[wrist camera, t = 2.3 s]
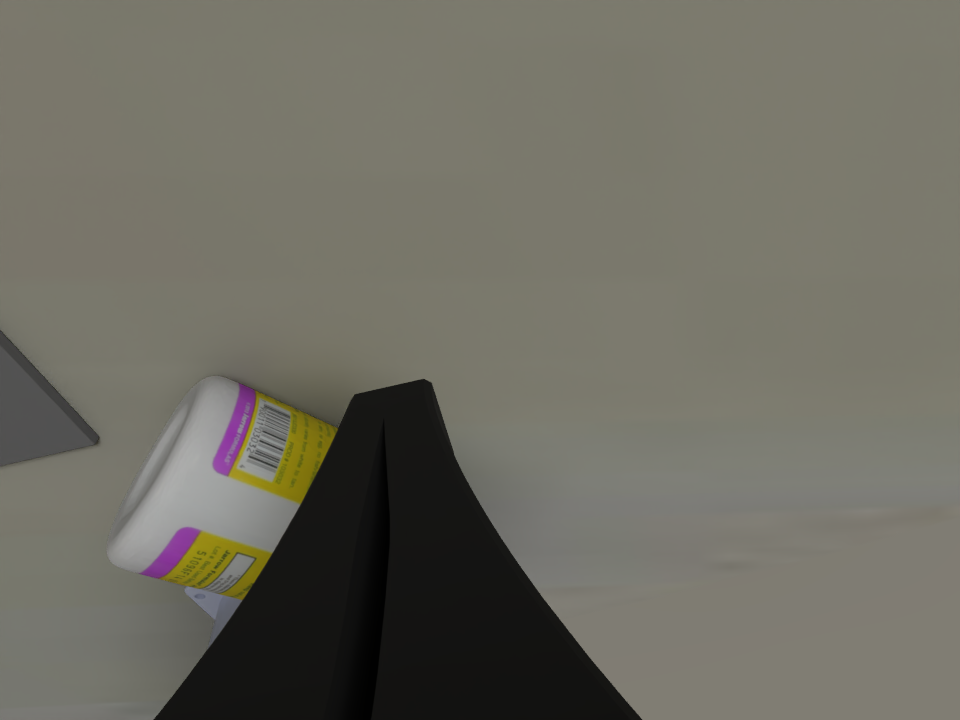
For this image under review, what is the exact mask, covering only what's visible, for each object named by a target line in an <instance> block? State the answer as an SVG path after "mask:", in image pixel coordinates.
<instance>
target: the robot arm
mask: <svg viewBox="0 0 960 720" xmlns="http://www.w3.org/2000/svg"><path fill="white" fill-rule="evenodd" d="M185 593H186V594H187V595H188V596H189V597H190V598H192V599H193V600H194V601H195V602H196V603H197V604H198V605H199V606H200V607H201V608H202V609H203V610H204V611H205V612H207V613H208V614H209V615H210V616H211V617H212V618H213V619H214V620H215V622H214V626H213V630H212V634H211V637H210V641H209V645H208V649H207V651H206V652H205V654H204V655H203V656H202V658H201V659H200V660H199V662H198V663H197V665H196V666H195V667H194V669H193V670H192V671H191V673H190V674H189V675H188V677H187V678H186V679H185V681H184V682H183V683H182V684H181V686H180V687H179V688H178V690H177V691H176V692H175V694H174V695H173V696H172V697H171V699H170V700H169V701H168V702H167V704H166V705H165V706H164V708H163V709H162V710H161V711H160V713H159V714H158V715H157V716H156V717H155V719H154V720H642V719H641V718H640V716H639V715H638V714H637V713H636V712H635V711H634V710H633V709H632V707H631V706H630V705H629V704H628V703H627V702H626V701H625V699H624V698H623V697H622V696H621V695H620V693H619V692H618V691H617V690H616V689H615V687H614V686H613V685H612V684H611V683H610V681H609V680H608V679H607V678H606V677H605V676H604V674H603V673H602V672H601V671H600V670H599V669H598V667H597V666H596V665H595V664H594V662H593V661H592V660H591V659H590V658H589V656H588V655H587V654H586V653H585V651H584V650H583V649H582V647H581V646H580V645H579V644H578V642H577V641H576V640H575V638H574V637H573V636H572V635H571V633H570V632H569V631H568V630H567V628H566V627H565V626H564V624H563V623H562V622H561V621H560V619H559V618H558V617H557V615H556V614H555V613H554V612H553V610H552V609H551V608H550V606H549V605H548V604H547V603H546V601H545V600H544V599H543V597H542V596H541V595H540V593H539V592H538V591H537V589H536V588H535V586H534V585H533V584H532V582H531V581H530V579H529V578H528V577H527V575H526V574H525V572H524V571H523V570H522V568H521V567H520V565H519V564H518V563H517V561H516V560H515V558H514V557H513V555H512V554H511V552H510V551H509V549H508V548H507V546H506V545H505V543H504V542H503V540H502V539H501V537H500V536H499V534H498V533H497V531H496V529H495V528H494V526H493V525H492V523H491V521H490V520H489V518H488V517H487V515H486V513H485V512H484V510H483V508H482V507H481V505H480V503H479V501H478V500H477V498H476V496H475V495H474V493H473V491H472V489H471V488H470V486H469V484H468V482H467V480H466V478H465V476H464V475H463V473H462V471H461V469H460V467H459V464H458V462H457V460H456V458H455V456H454V452H453V449H452V446H451V442H450V439H449V436H448V433H447V430H446V427H445V424H444V420H443V417H442V414H441V411H440V408H439V405H438V401H437V398H436V395H435V392H434V389H433V386H432V383H431V382H429V381H427V380H425V379H421V380H417V381H412V382H408V383H403V384H399V385H394V386H390V387H385V388H381V389H377V390H372V391H368V392H363V393H359V394H355V395H354V397H353V398H352V400H351V401H350V403H349V406H348V408H347V410H346V412H345V415H344V417H343V419H342V421H341V424H340V426H339V428H338V430H337V432H336V434H335V437H334V439H333V441H332V443H331V445H330V447H329V449H328V451H327V453H326V456H325V458H324V460H323V462H322V464H321V466H320V468H319V470H318V472H317V473H316V475H315V477H314V479H313V481H312V483H311V485H310V487H309V489H308V491H307V493H306V495H305V497H304V499H303V501H302V503H301V504H300V506H299V508H298V510H297V512H296V513H295V515H294V517H293V519H292V520H291V522H290V524H289V525H288V527H287V529H286V531H285V532H284V534H283V536H282V538H281V539H280V541H279V543H278V545H277V546H276V548H275V550H274V551H273V553H272V555H271V556H270V558H269V560H268V561H267V563H266V565H265V566H264V568H263V569H262V571H261V572H260V574H259V576H258V577H257V579H256V580H255V582H254V583H253V585H252V587H251V588H250V590H249V591H248V593H247V594H246V596H245V597H244V599H243V600H240V599H236V598H232V597H228V596H224V595H220V594H216V593H213V592H209V591H204V590H200V589H196V588H193V587H189V586H186V587H185Z"/></svg>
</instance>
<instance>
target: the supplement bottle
mask: <svg viewBox="0 0 960 720" xmlns="http://www.w3.org/2000/svg"><path fill="white" fill-rule="evenodd" d="M337 430H338V428H336V427H334V426H332V425H329V424H328V423H325V422H323V421H321V420H319V419H316V418H314V417H312V416H310V415H308V414H306V413H304V412H301V411H299V410H297V409H295V408H293V407H291V406H289V405H286V404H284V403H282V402H280V401H277V400H275V399H273V398H271V397H269V396H266V395H264V394H262V393H260V392H258V391H255V390H253V389H251V388H249V387H247V386H244V385H242V384H240V383H237V382H235V381H232V380H230V379H228V378H225V377H221V376H210V377H207V378H204V379H202V380H201V381H199V382H198V383H197V384H196V385H194V386H193V387H192V388H191V389H190V391H189V392H188V393H187V394H186V396H185V397H184V398H183V399H182V401H181V402H180V404H179V405H178V406H177V408H176V409H175V411H174V412H173V414H172V416H171V417H170V419H169V420H168V422H167V424H166V425H165V427H164V429H163V430H162V432H161V434H160V435H159V437H158V439H157V440H156V442H155V444H154V445H153V447H152V449H151V451H150V452H149V454H148V456H147V457H146V459H145V461H144V463H143V464H142V466H141V468H140V469H139V471H138V473H137V475H136V476H135V478H134V480H133V482H132V484H131V486H130V488H129V490H128V492H127V494H126V496H125V498H124V500H123V501H122V503H121V505H120V508H119V510H118V512H117V514H116V517H115V519H114V522H113V524H112V527H111V530H110V534H109V537H108V541H107V555H108V558H109V560H110V561H111V562H112V563H113V564H114V565H116V566H117V567H119V568H122V569H125V570H128V571H131V572H135V573H139V574H142V575H146V576H150V577H154V578H158V579H161V580H165V581H169V582H173V583H177V584H181V585H185V586H189V587H193V588H196V589H200V590H204V591H209V592H213V593H216V594H220V595H224V596H228V597H232V598H236V599H240V600H243V599H244V597H245V596H246V594H247V593H248V591H249V590H250V588H251V587H252V585H253V583H254V582H255V580H256V579H257V577H258V576H259V574H260V572H261V571H262V569H263V568H264V566H265V565H266V563H267V561H268V560H269V558H270V556H271V555H272V553H273V551H274V550H275V548H276V546H277V545H278V543H279V541H280V539H281V538H282V536H283V534H284V532H285V531H286V529H287V527H288V525H289V524H290V522H291V520H292V519H293V517H294V515H295V513H296V512H297V510H298V508H299V506H300V504H301V503H302V501H303V499H304V497H305V495H306V493H307V491H308V489H309V487H310V485H311V483H312V481H313V479H314V477H315V475H316V473H317V472H318V470H319V468H320V466H321V464H322V462H323V460H324V458H325V456H326V453H327V451H328V449H329V447H330V445H331V443H332V441H333V439H334V437H335V434H336V432H337Z"/></svg>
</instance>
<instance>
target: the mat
mask: <svg viewBox="0 0 960 720" xmlns="http://www.w3.org/2000/svg"><path fill="white" fill-rule="evenodd" d="M98 438H99V436H98V435H97V434H96V433H95V432H94V431H93V430H92V429H91V428H90V427H89V426H88V425H87V423H86V422H85V421H84V420H83V419H82V418H81V417H80V416H79V415H78V414H77V413H76V412H75V411H74V409H73V408H72V407H71V406H70V405H69V404H68V403H67V402H66V401H65V400H64V399H63V398H62V397H61V396H60V394H59V393H58V392H57V391H56V390H55V389H54V388H53V387H52V386H51V385H50V384H49V383H48V382H47V380H46V379H45V378H44V377H43V376H42V375H41V374H40V373H39V372H38V371H37V370H36V369H35V368H34V366H33V365H32V364H31V363H30V362H29V361H28V360H27V359H26V358H25V357H24V356H23V355H22V354H21V353H20V351H19V350H18V349H17V348H16V347H15V346H14V345H13V344H12V343H11V342H10V341H9V340H8V339H7V337H6V336H5V335H4V334H3V333H2V332H1V331H0V466H2V465H6V464H11V463H15V462H19V461H24V460H28V459H33V458H37V457H42V456H46V455H51V454H55V453H59V452H64V451H68V450H73V449H77V448H82V447H86V446H90V445H95V443H96V441H97V440H98Z"/></svg>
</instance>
